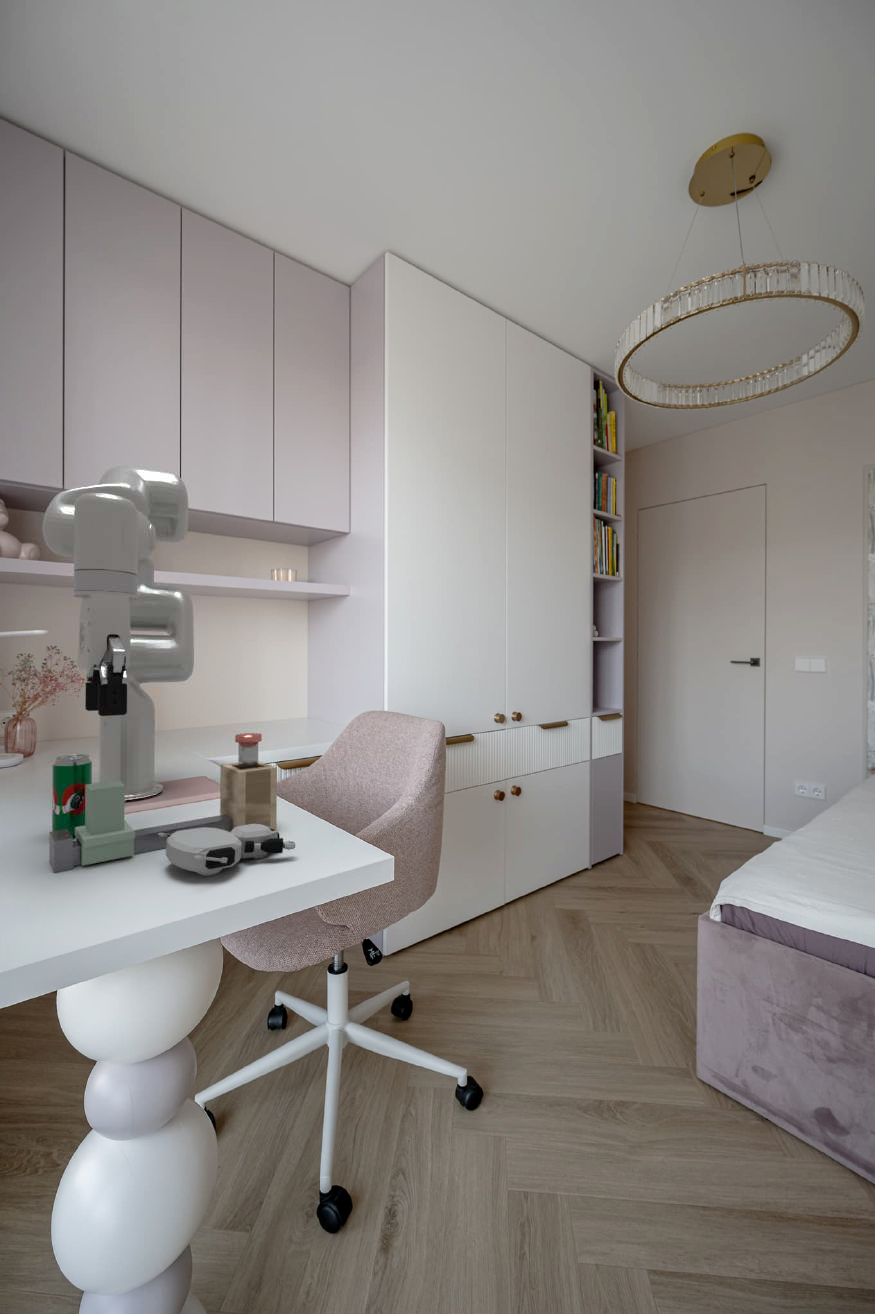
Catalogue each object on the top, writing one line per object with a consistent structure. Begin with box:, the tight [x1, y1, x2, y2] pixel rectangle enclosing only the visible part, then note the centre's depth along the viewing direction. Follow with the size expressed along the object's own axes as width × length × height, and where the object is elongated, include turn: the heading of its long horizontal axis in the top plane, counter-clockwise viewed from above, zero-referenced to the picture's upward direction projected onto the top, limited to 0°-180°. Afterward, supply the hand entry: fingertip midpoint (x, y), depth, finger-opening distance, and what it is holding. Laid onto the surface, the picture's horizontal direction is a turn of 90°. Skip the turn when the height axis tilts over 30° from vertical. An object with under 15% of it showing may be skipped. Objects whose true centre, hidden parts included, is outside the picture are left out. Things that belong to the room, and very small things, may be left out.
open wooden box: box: [219, 760, 278, 830], centre depth 90 cm, size 8×6×10 cm
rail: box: [48, 814, 233, 874], centre depth 81 cm, size 5×24×4 cm, turn 130°
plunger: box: [234, 732, 263, 770], centre depth 90 cm, size 4×4×6 cm
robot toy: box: [158, 824, 296, 877], centre depth 75 cm, size 12×4×15 cm
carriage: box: [75, 781, 136, 867], centre depth 77 cm, size 7×6×10 cm
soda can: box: [51, 753, 93, 839], centre depth 86 cm, size 5×5×12 cm
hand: (105, 712), depth 77 cm, fingers open, 9 cm apart
